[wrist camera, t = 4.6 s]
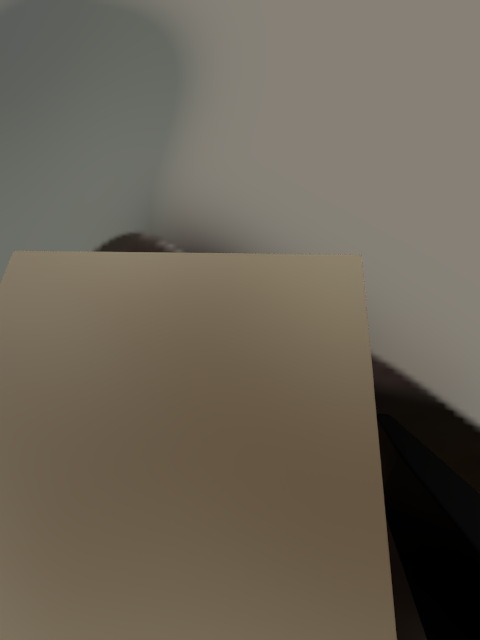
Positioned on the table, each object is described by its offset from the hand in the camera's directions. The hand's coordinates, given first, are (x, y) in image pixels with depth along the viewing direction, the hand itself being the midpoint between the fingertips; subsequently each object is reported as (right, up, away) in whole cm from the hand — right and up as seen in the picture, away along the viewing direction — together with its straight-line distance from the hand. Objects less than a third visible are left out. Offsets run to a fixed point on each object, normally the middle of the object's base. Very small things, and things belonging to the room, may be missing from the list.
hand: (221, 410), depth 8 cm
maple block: (+1, -3, +7) cm, 8 cm away
